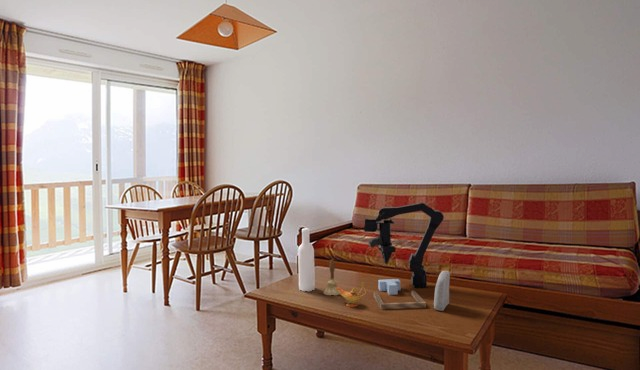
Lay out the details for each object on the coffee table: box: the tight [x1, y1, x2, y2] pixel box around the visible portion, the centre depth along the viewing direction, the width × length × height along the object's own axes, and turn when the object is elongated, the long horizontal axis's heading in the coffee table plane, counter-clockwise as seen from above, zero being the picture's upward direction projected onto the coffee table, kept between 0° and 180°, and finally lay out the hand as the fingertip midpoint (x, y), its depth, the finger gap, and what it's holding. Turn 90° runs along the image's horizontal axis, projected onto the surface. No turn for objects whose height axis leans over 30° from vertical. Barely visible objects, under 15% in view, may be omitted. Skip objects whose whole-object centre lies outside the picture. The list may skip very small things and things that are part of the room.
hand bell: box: [323, 259, 341, 296], centre depth 182 cm, size 8×8×16 cm
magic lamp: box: [332, 281, 367, 308], centre depth 166 cm, size 7×18×11 cm, turn 50°
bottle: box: [297, 227, 316, 292], centre depth 188 cm, size 8×8×30 cm
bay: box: [373, 290, 427, 310], centre depth 167 cm, size 19×16×2 cm
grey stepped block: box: [377, 278, 402, 296], centre depth 182 cm, size 10×10×4 cm
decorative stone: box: [433, 270, 451, 312], centre depth 160 cm, size 11×6×15 cm, turn 151°
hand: (385, 263), depth 193 cm, fingers open, 2 cm apart
